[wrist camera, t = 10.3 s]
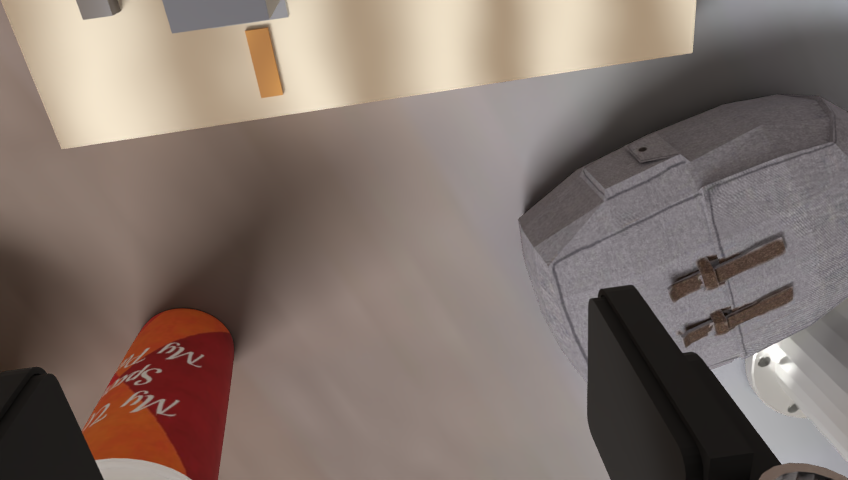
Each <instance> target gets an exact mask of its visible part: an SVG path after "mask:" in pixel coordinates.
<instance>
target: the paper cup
mask: <svg viewBox="0 0 848 480" xmlns="http://www.w3.org/2000/svg"><path fill="white" fill-rule="evenodd" d="M233 360H234V344H233V339H232V336H231V334H230V332H229V331H228V329H227V328H226V327H225V325H224V324H223V323H222V322H221V321H219V320H218V319H217V318H215V317H214V316H212V315H210V314H208V313H205V312H203V311H200V310H195V309H189V308H177V309H170V310H167V311H164V312H161V313H159V314H157V315H155V316H154V317H153V318H151V319H150V320H149V321H148V322H147V323H146V324H145V325H144V327H143V328H142V330H141V331H140V333H139V334H138V336H137V337H136V339H135V340H134V342H133V344H132V345H131V347H130V349H129V350H128V352H127V354H126V355H125V357H124V359H123V361H122V362H121V364H120V366H119V367H118V369H117V371H116V373H115V374H114V376H113V378H112V379H111V381H110V383H109V385H108V386H107V388H106V390H105V392H104V393H103V395H102V397H101V399H100V400H99V402H98V404H97V405H96V407H95V409H94V411H93V412H92V414H91V416H90V418H89V419H88V421H87V423H86V425H85V426H84V428H83V430H82V433H83V436H84V438H85V440H86V442H87V444H88V446H89V449H90V451H91V453H92V455H93V457H94V459H95V461H96V464H97V466H98V468H99V470H100V472H101V474H102V476H103V479H104V480H218V474H219V467H220V460H221V453H222V445H223V438H224V431H225V423H226V416H227V409H228V401H229V393H230V386H231V378H232V369H233Z"/></svg>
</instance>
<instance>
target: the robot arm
mask: <svg viewBox="0 0 848 480" xmlns="http://www.w3.org/2000/svg"><path fill="white" fill-rule="evenodd" d="M745 370H746V375H747V378H748V381H749V384H750V386H751V387H752V389H753V390H754V392H755V393H756V394H757V395H758V397H759V398H760V399H761V400H762V401H763V402H764V403H765V404H766V405H767V406H768V407H770V408H771V409H773V410H774V411H776V412H778V413H781V414H783V415H786V416H790V417H797V418H808V419H809V420H810V421H811V422H812V423H813V424H814V426H815V427H816V428H817V429H818V430H819V431H820V432H821V433H822V435H823V436H824V437H825V438H826V439H827V440H828V441H829V442H830V444H831V445H832V446H833V447H834V448H835V449H836V450H837V451H838V453H839V454H840V455H841V456H842V457H843V458H844V459H845V460H846V462H847V463H848V298H846V299H845V300H844V301H843V302H841V303H840V304H839V305H837V306H836V307H835V308H833V309H832V310H831V311H830V312H828V313H827V314H826V315H824V316H823V317H822V318H820V319H819V320H818V321H817V322H815V323H814V324H813V325H811V326H809V327H807V328H806V329H804V330H802V331H800V332H798V333H796V334H794V335H792V336H790V337H788V338H786V339H784V340H782V341H780V342H778V343H776V344H774V345H772V346H770V347H768V348H766V349H764V350H762V351H760V352H758V353H756V354H754V355H752V356H750V357H748V358H746V359H745ZM587 416H588V424H589V428H590V432H591V435H592V437H593V440H594V442H595V444H596V446H597V449H598V451H599V453H600V456H601V458H602V460H603V463H604V465H605V467H606V470H607V472H608V474H609V477H610V479H611V480H848V478H847V477H845V476H843V475H841V474H838V473H836V472H834V471H831V470H829V469H827V468H824V467H819V466H815V465H811V464H804V463H787V464H783V465H782V464H781V463H780V462H779V460H778V459H777V458H776V456H775V455H774V454H773V453H772V451H771V450H770V449H769V447H768V446H767V445H766V443H765V442H764V441H763V439H762V438H761V437H760V435H759V434H758V433H757V431H756V430H755V429H754V427H753V426H752V425H751V423H750V422H749V421H748V419H747V418H746V417H745V415H744V414H743V413H742V411H741V410H740V409H739V407H738V406H737V405H736V403H735V402H734V401H733V399H732V398H731V397H730V395H729V394H728V393H727V391H726V390H725V389H724V387H723V386H722V385H721V383H720V382H719V381H718V379H717V378H716V377H715V375H714V374H713V373H712V371H711V370H710V369H709V367H708V366H707V365H706V363H705V362H704V361H703V359H702V358H701V357H700V356H699V355H698V354H697V353H694V352H685V353H682V351H681V350H680V349H679V347H678V346H677V345H676V343H675V342H674V340H673V339H672V338H671V336H670V335H669V333H668V332H667V331H666V329H665V328H664V326H663V325H662V324H661V322H660V321H659V319H658V318H657V317H656V315H655V314H654V312H653V311H652V310H651V308H650V307H649V305H648V304H647V303H646V301H645V300H644V298H643V297H642V296H641V294H640V293H639V291H638V290H637V289H636V288H635V286H634V285H624V286H617V287H610V288H603V289H600V290H599V293H598V298H591V299H589V302H588V391H587ZM0 480H104V479H103V476H102V474H101V472H100V470H99V468H98V466H97V464H96V461H95V459H94V457H93V455H92V453H91V451H90V449H89V446H88V444H87V442H86V440H85V438H84V436H83V433H82V431H81V429H80V427H79V425H78V423H77V421H76V418H75V416H74V414H73V412H72V410H71V408H70V406H69V403H68V401H67V399H66V397H65V395H64V393H63V390H62V388H61V386H60V384H59V382H58V380H57V378H56V377H55V376H54V375H53V374H47V373H46V372H45V371H44V370H43V369H42V368H39V367H32V368H25V369H18V370H11V371H5V372H2V373H0Z"/></svg>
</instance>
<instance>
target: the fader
mask: <svg viewBox="0 0 848 480" xmlns="http://www.w3.org/2000/svg"><path fill="white" fill-rule="evenodd" d="M162 2H163V5H164V8H165V12H166V15H167V18H168V22H169V25H170V29H171V32H172V34H173V33H180V32H187V31H194V30H201V29H207V28H218V27H225V26H232V25H239V24H246V23H252V22H259V21H266V20H273V19H280V18H287V17H289V15H290V13H289V8H288V3H287V0H162Z"/></svg>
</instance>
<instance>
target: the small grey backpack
mask: <svg viewBox="0 0 848 480" xmlns="http://www.w3.org/2000/svg"><path fill="white" fill-rule="evenodd" d="M518 221H519V228H520V236H521V243H522V251H523V257H524V260H525V264H526V268H527V271H528V274H529V277H530V280H531V283H532V286H533V289H534V292H535V295H536V298H537V301H538V303H539V306H540V309H541V312H542V314H543V316H544V318H545V320H546V322H547V324H548V326H549V327H550V329H551V331H552V333H553V335H554V337H555V339H556V341H557V342H558V344H559V346H560V348H561V350H562V351H563V353H564V354H565V355H566V357H567V358H568V360H569V361H570V363H571V364H572V365H573V367H574V368H575V369H576V370H577V371H578V373H579V374H580V375H581V376H582V377H583V378H584V380H585V381H586V382H587V383H588V302H589V299H591V298H598V293H599V290H600V289H603V288H610V287H617V286H624V285H634V286H635V288H636V289H637V290H638V291H639V293H640V294H641V296H642V297H643V298H644V300H645V301H646V303H647V304H648V305H649V307H650V308H651V310H652V311H653V312H654V314H655V315H656V317H657V318H658V319H659V321H660V322H661V324H662V325H663V326H664V328H665V329H666V331H667V332H668V333H669V335H670V336H671V338H672V339H673V340H674V342H675V343H676V345H677V346H678V347H679V349H680V350H681V351H682V353H685V352H694V353H697V354H698V355H699V356H700V357H701V358H702V359H703V361H704V362H705V363H706V365H707V366H708V367H709V369H710V370H711V369H714V368H717V367H720V366H722V365H725V364H728V363H731V362H732V361H733V360H734V359H735V358H738V357H742V358H744V359H746V358H748V357H750V356H752V355H754V354H756V353H758V352H760V351H762V350H764V349H766V348H768V347H770V346H772V345H774V344H776V343H778V342H780V341H782V340H784V339H786V338H788V337H790V336H792V335H794V334H796V333H798V332H800V331H802V330H804V329H806V328H807V327H809V326H811V325H813V324H814V323H815V322H817V321H818V320H819V319H820V318H822V317H823V316H824V315H826V314H827V313H828V312H830V311H831V310H832V309H833V308H835V307H836V306H837V305H839V304H840V303H841V302H843V301H844V300H845V299H846V298H848V112H847V111H845V110H843V109H842V108H840V107H838V106H836V105H835V104H833V103H831V102H829V101H827V100H826V99H824V98H822V97H820V96H807V95H782V94H777V95H772V96H766V97H761V98H755V99H750V100H745V101H739V102H734V103H728V104H723V105H721V106H718V107H716V108H713V109H711V110H708V111H706V112H703V113H701V114H698V115H696V116H693V117H691V118H688V119H686V120H683V121H681V122H678V123H676V124H673V125H671V126H668V127H666V128H663V129H661V130H658V131H656V132H653V133H650V134H648V135H646V136H644V137H642V138H640V139H638V140H636V141H634V142H632V143H629V144H627V145H625V146H624V147H622V148H620V149H618V150H616V151H614V152H612V153H610V154H608V155H606V156H604V157H602V158H600V159H598V160H596V161H593V162H591V163H589V164H587V165H585V166H583V167H581V168H579V169H577V170H576V171H575V172H574V173H572V174H571V175H570V176H569V177H568V178H566V179H565V180H564V181H563V182H562V183H560V184H559V185H558V186H557V187H556V188H554V189H553V190H552V191H551V192H550V193H549V194H547V195H546V196H545V197H544V198H543V199H541V200H540V201H539V202H538V203H537V204H535V205H534V206H533V207H532V208H531V209H529V210H528V211H527V212H526V213H525V214H523V215H522V216H521V217H520V218H519V219H518Z"/></svg>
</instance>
